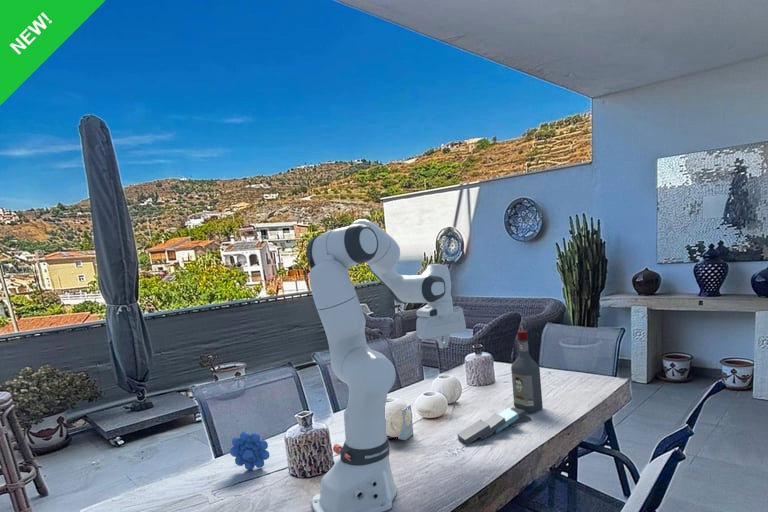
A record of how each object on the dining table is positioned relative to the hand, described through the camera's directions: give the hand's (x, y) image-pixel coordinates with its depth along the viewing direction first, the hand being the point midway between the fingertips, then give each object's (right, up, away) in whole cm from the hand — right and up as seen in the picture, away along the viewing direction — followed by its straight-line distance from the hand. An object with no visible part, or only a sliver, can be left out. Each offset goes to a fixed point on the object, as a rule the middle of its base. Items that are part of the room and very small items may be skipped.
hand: (443, 347), depth 145 cm
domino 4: (+22, -26, 0) cm, 34 cm away
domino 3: (+16, -27, -4) cm, 32 cm away
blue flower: (-62, -34, -19) cm, 74 cm away
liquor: (+35, -27, +13) cm, 46 cm away
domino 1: (+5, -28, -11) cm, 30 cm away
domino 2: (+11, -28, -7) cm, 30 cm away
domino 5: (+22, -28, +1) cm, 35 cm away
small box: (-16, -31, -2) cm, 34 cm away
